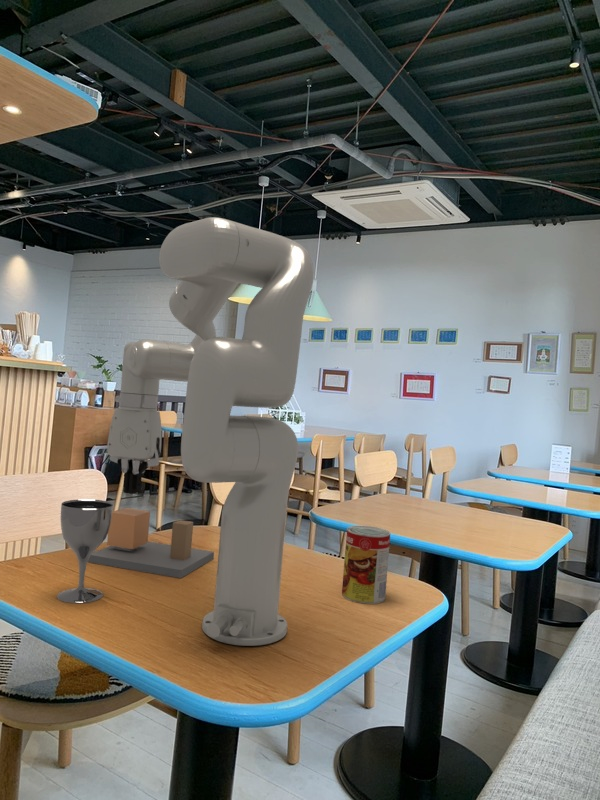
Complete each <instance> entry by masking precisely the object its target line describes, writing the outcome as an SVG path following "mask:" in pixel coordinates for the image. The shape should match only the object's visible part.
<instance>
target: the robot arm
mask: <svg viewBox="0 0 600 800" xmlns="http://www.w3.org/2000/svg"><path fill="white" fill-rule="evenodd" d="M158 258H159V259H158V261H159V267H160V270H161V272H162V273H163V274H164V276H166V277H168V278H171V279H173V280H178V281H179V282H178V284H177V286H176V287H175V289H174V290H173V292H172V293H171V295H170V297H169V300H168V306H169V307H168V308H169V309H170V312H171V314H172V316H173V317H174V319H176V321H178V323H180V324H181V325H182V326H183V327H185V328H186V329H188V330H189V331H191V332H192V333H194V334H195V336H194V338H193V339H192V340H191V342H190V343H189V344H185V343H180V342H172V341H165V340H156V339H139V340H137V341H131V342H128V343H126V344H125V345H124V346H123V347H124V348H123V356H122V367H121V368H122V369H121V380H120V381H121V383H120V392H119V395H115V397H114V402H116V403H118V407H119V408H118V407H116V408H115V409H114V411H113V413H112V414H113V415H112V418H111V421H110V426H109V430H108V431H109V432H108V437H107V438H108V439H107V447H106V452H107V455H108V456H109V458H108V459H109V461H111V462H114V463H116V464H118V465H119V467H120V469H121V472H122V473H123V474H124V475H123V485H122V486H123V493H124V494H129V495H133V494H136V493H140V489H141V488H142V487H141V486H142V477H143V474H144V473H145V472H146V470H147V469H148V468H150V467H156V466H159V465H160V459H159V458H160V456H161V453H162V451H161V450H162V419H161V412H160V411H158V405H159V404H158V402H159V391H160V390H159V389H160V380H161V381H162V380H163V381H173V382H174V381H175V382H187V384H186V393H185V402H184V412H183V421H182V431H181V442H180V458H181V459H180V460H181V463H182V467H183V469H184V472H185V473H186V475H187V476H188V477H189V478H190V479H192V480H194V481H196V482H199V483H207V484H208V483H209V484H212V483H213V484H214V483H233V486H232V487H231V489H230V491H229V492H228V494H227V495H226V498H225V500H224V503H223V506H222V510H221V518H220V519H221V521H220V531H219V544H218V555H217V567H216V568H217V570H216V582H215V594H214V607H213V610H212V611H209V612H208V613H207V614H205V615H204V617H203V618H202V625H201V627H202V628H201V629H202V631H203V632H204V634H205V635H206V636H208V637H209V638H210V639H212V640H215V641H217V642H220V643H222V644H223V643H224V644H228V645H232V646H233V645H234V646H240V647H241V646H243V647H244V646H245V647H246V646H247V647H250V646H251V647H253V646H254V647H257V646H265V645H269V644H272V643H275V642H278V641H280V640H282V639H283V638H284V637H285V636H286V634H287V632H288V622H287V620H286V619H285V618H284V617H283V616H282V615H280V614H279V605H280V593H281V592H280V591H281V580H282V569H283V568H282V567H283V556H284V555H283V554H284V543H285V533H286V531H285V530H286V529H285V528H286V522H287V521H286V519H287V508H288V500H289V496H290V495H289V492H290V488H291V484H292V480H293V476H294V473H295V468H296V465H297V461H298V455H299V443H298V438H297V435H296V434H295V431H294V430H293V429H292V427H291V426H290V425H288V424H287V423H285V422H284V421H283V420H280V419H278V418H274V417H268V416H254V415H251V416H250V415H231V412H232V409H233V407H243V408H259V409H260V408H265V409H272V408H280V407H283V406H285V405H287V404H288V403H289V402H290V400H291V399H292V397H293V395H294V391H295V388H296V382H297V375H298V374H297V373H298V367H299V359H300V358H299V356H300V348H301V339H302V334H303V333H302V331H303V323H304V316H305V311H306V307H307V304H308V300H309V298H310V294H311V291H312V287H313V283H314V264H313V260H312V258H311V255H310V253H309V252H308V250H307V249H306V248H305V247H304V246H303V245H302V244H300V243H299V242H297V241H294V239H290V238H288V237H287V236H283V235H279V234H277V233H273V232H272V231H268V230H263V229H262V228H261V229H260V228H257V227H253V226H250V225H246V224H243V223H240V222H237V221H233V220H230V219H226V218H221V217H206V218H202V219H199V220H194V221H192V222H186V223H184V224H181V225H179V226H176V227H175V228H174V229H172V230H171V231H170V232H169V233H168V234H167V235H166V237H165V238H164V240H163V242H162V244H161V247H160V250H159V255H158ZM239 284H241V285H248V286H251V287H256V288H260V290H259V291H258V292H257V293H256V294H255V295H254V297H253V299H251V301H250V303H249V305H248V306H247V309H246V313H245V316H244V326H243V333H242V336H241V338H240V339H239V338H234V337H227V336H217V333H216V327H215V325H214V322H213V321H214V320H215V318H216V317H217V315H218V314H219V312H220V311H221V310H222V308H223V306H224V305H225V304H226V303H227V301H228V299H229V298H230V297H231V295H232V294H233V292H234V291H235V289H236V288H237V286H238V285H239Z"/></svg>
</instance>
